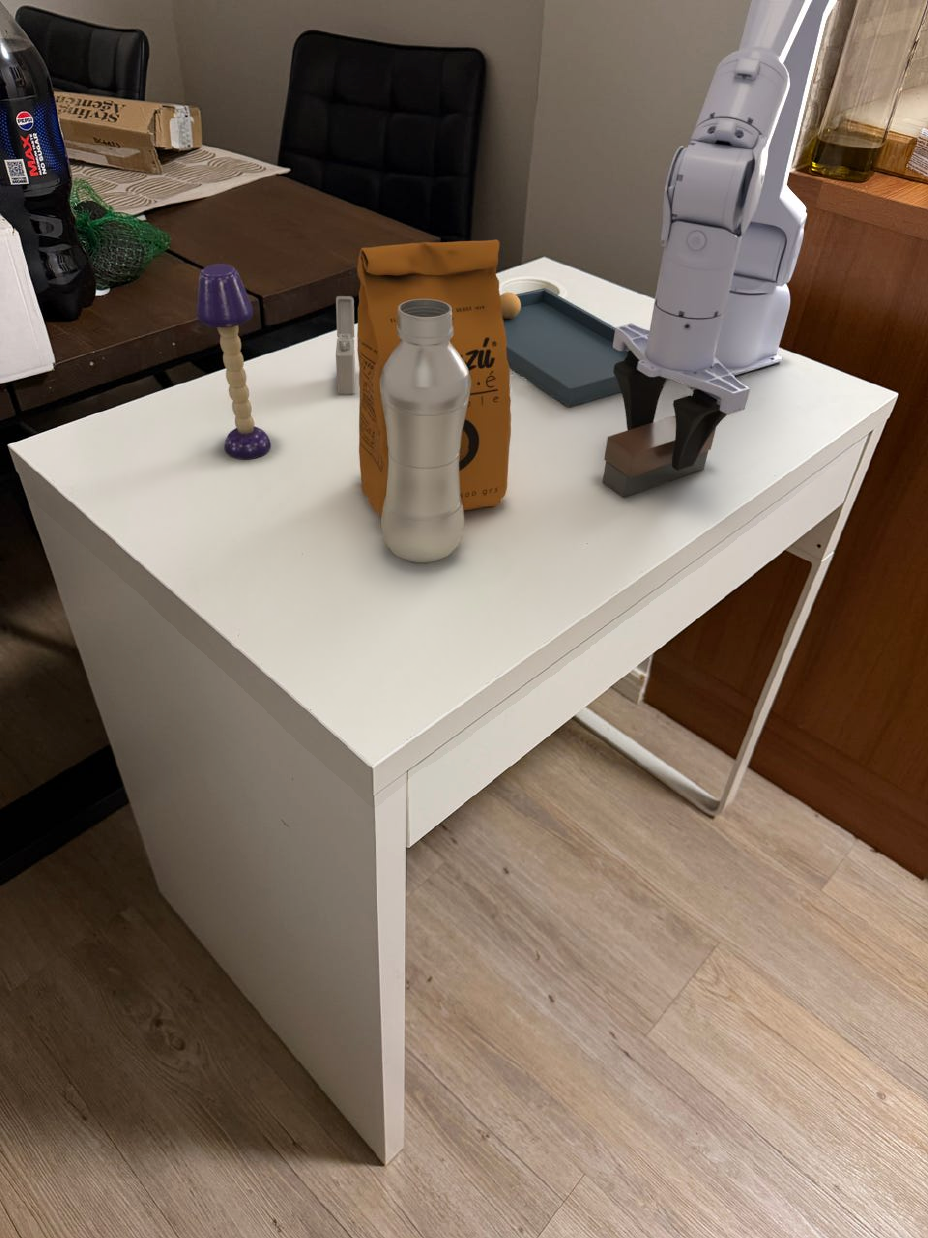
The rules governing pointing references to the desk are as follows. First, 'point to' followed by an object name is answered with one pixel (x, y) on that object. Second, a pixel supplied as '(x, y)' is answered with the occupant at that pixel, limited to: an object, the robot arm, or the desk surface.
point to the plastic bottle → (424, 434)
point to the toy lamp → (232, 352)
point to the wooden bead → (510, 305)
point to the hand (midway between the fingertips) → (660, 451)
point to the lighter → (345, 345)
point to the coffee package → (478, 338)
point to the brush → (646, 457)
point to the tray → (562, 348)
